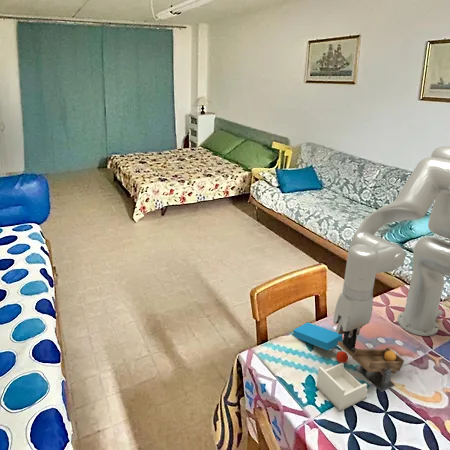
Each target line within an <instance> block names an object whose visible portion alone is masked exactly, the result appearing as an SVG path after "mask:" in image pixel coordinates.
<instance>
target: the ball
mask: <svg viewBox="0 0 450 450" xmlns="http://www.w3.org/2000/svg"><path fill="white" fill-rule="evenodd" d="M396 355H397V354H396V352H394V351H393V350H391V351H386V352H385V354H384V358H385V360H386V361H395V360H396Z"/></svg>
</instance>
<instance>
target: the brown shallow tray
mask: <svg viewBox="0 0 450 450" xmlns="http://www.w3.org/2000/svg"><path fill="white" fill-rule="evenodd" d="M337 346H339V348H341V349H342V351H344V352H346V353H347V355H348V356H350V357H352V359H353V361H355V362H356V363H357V364H359V365H361V366H362V367H363V368H364V369H366V370H367V371H368V372H380V373H382V372H384V370H386V369H388V368H390V369H391V370H392V373H391V375H392V374H396V372H400V371H401V368H402V367H403V364H404V363H405V359H403V358H402V357H400V356H399V355H398V354H396V360H395V361H386V360H385V358H384V354H385V352H386V351H392V350H391V349H389V348H388V347H386V348H385V349H377V348H376V349H372V348H369V349H368V348H367V349H366V348H365V349H364V348H360V349H359V348H356V347H355V348H352V349H349V348H348V347H347V346H346V345H344V344H343V341H338V343H337Z"/></svg>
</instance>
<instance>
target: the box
mask: <svg viewBox="0 0 450 450" xmlns="http://www.w3.org/2000/svg"><path fill="white" fill-rule="evenodd" d="M344 365H345V363H340V362H339V363H338V364H336V365H333V366H331V367H328V368H326V369H324V368H323V367H322V366H319V367H318V371H317V380H316V388H317V389H318V391H320V393H322V394H323V396H325V398H326V399H327V400H328V401H329V402H330V403H331V404H333V406H334V407H335V408H336V409H337V410H338V411H339V412H341V411H344V410H345V409H347V408H350V407H351V406H354V405H355V404H357V403H360V402H362V401H363V400H365V399H367V396H368V389H369V388H367V387H368V384H367V383H361V382H360V381H359V380H357V379H356V377H354V376H353V375H352V374H351V373H350V372H349V371H347V369H346V368H345V367H344Z"/></svg>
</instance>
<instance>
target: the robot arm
mask: <svg viewBox="0 0 450 450" xmlns="http://www.w3.org/2000/svg"><path fill="white" fill-rule="evenodd" d="M432 205H433V206H432ZM431 206H432V208H431ZM430 208H431V212H430V215H429V219H428V225H427V227H428V230H430V232H431V233H433V234H435V235H437V236H440V237H442V238H445V239H448V240H450V146H446V145H444V146H438V147H437V148H434V150H433V151H432V153H431V155H430V157H426V158H422V159H421V160H420V161H418V163H417V164H416V166H415V168H414V169H413V170H412V173H411V174H410V175H409V177H408V179H407V180H406V182H405V184H404V185H403V187H402V189H401V190H400V191H399V193H398V195H397V196H396V198H395V200H393V201H392V202H390V203H388V204H386V205H383V206H381V207H380V208H378V209H376V210H375V211H373V212H372V213H369V215H367V216H366V217H365V218H364V220H362V223H360V225H359V227H358V229H357V230H356V232H355V234H354V235H353V237H352V239H351V241H350V245H349V249H348V253H347V259H346V265H345V271H344V279H343V286H342V291H341V293H340V294H339V296H338V298H337V301H336V305H335V309H334V313H333V319H332V322H333V324H334V325H337V326H336V329H335V332H337V333H338V334H342V335H343V344H344V345H346V346H347V347H348V348H349V349H352V348H356V343H357V338H358V336H359V334H360V331H361V329H362V328H363V327H364V326H366V325H367V324H369V323H370V322H371V320H372V319H371V318H372V314H373V306H374V305H373V303H374V295H373V292H374V286H375V280H376V275H377V274H381V273H389V272H394V271H397V270H398V269H400V267H402V266H403V264H404V263H405V260H406V252H405V250H404V249H403V248H402V247H401V246H400V245H398V244H396V243H393V242H392V241H389V240H386V239H385V238H382V237H379V236H377V235H375V234H376V233H377V232H378V231H379V230H380V229H381V228H383V227H384V226H386V225H388V224H391V223H394V222H396V223H397V222H402V221H414V220H421V219H423V218H424V217H425V216H426V215H427V212H428V211H429V210H430ZM415 243H416V244H415V246H414V249H413V252H412V253H413V254H412V255H413V266H412V267H413V268H412V274H411V279H410V283H409V288H408V292H407V298H406V302H405V307H404V311H402V312H400V313H399V314H398V317H397V323H398V325H399V326H400V327H401V328H403V330H405V331H407V332H409V333H410V334H413V335H417V336H422V337H429V336H433V335H436V334H437V333H438V331H439V328H440V325H439V323H438V322H437V321H436V320H437V318H438V317H439V316H442V315H443V314H444V311H443V310H442V309H440V307H439V306H440V303H441V298H442V294H443V291H444V287H445V277H444V276H446V277H448V278H450V242H447V241H445V240H442V239H440V238H436V237H433V236H432V237H431V236H426V237H425V236H424V237H422V238H420V239H419V240H418V241H416V242H415Z"/></svg>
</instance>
